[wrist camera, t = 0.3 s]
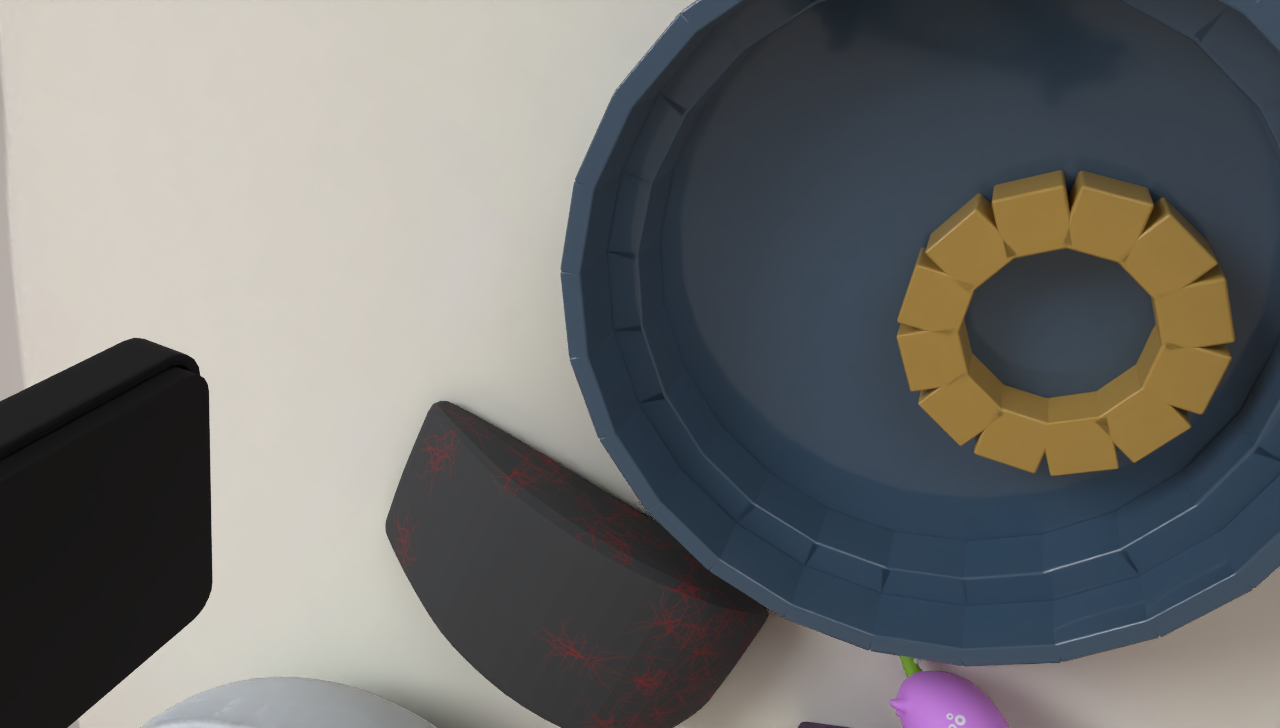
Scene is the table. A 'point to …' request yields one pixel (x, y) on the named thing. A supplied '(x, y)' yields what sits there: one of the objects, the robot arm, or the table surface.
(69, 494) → the robot arm
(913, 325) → the ring
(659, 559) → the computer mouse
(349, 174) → the table surface
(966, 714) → the purple piece
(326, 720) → the serving bowl
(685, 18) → the bowl
